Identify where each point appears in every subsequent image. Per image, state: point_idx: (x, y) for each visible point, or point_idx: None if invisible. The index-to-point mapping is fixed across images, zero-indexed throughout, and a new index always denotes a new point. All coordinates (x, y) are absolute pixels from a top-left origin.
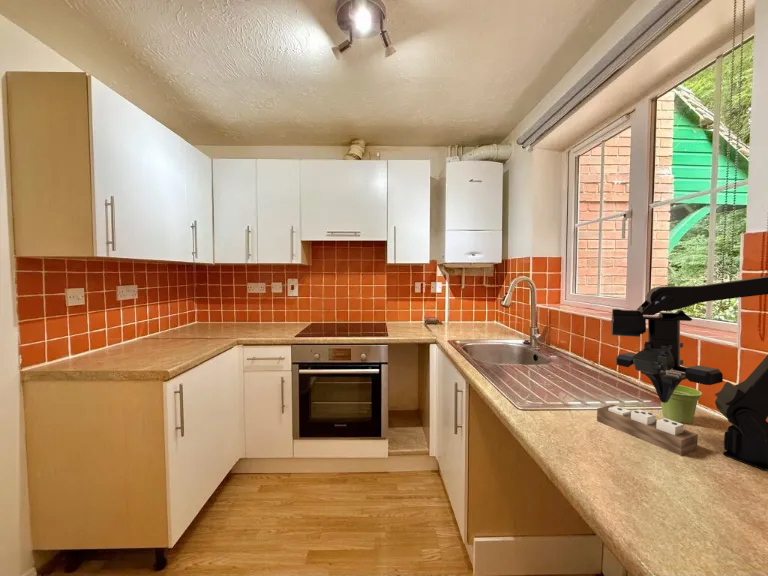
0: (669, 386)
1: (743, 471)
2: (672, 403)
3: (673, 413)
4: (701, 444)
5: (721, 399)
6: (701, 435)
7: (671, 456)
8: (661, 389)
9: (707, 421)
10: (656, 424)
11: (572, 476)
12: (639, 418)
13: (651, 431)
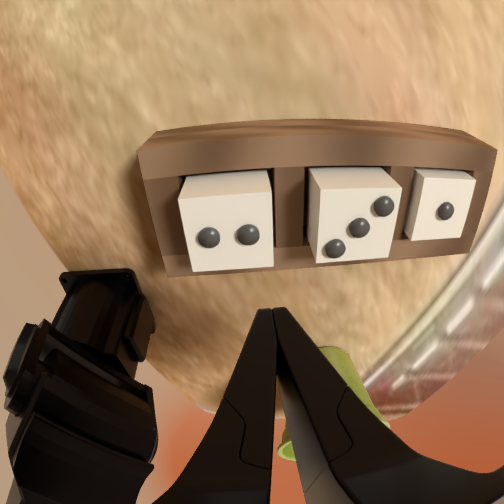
0: (196, 450)
1: (60, 221)
2: None
3: None
4: (197, 282)
5: (83, 442)
6: (236, 333)
7: (163, 88)
8: (295, 398)
9: (276, 395)
10: (268, 181)
11: None
12: (352, 178)
13: (269, 134)
